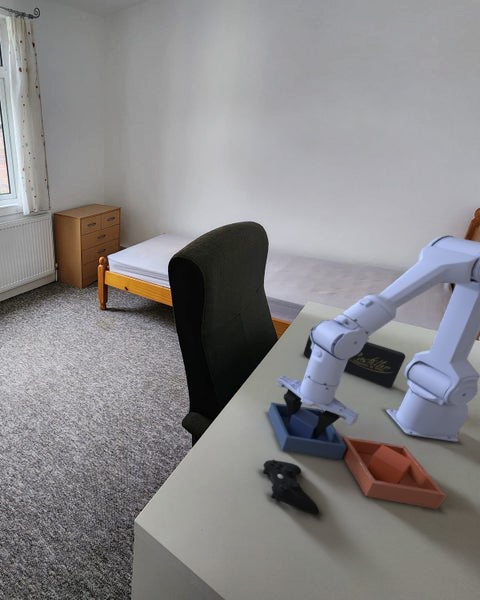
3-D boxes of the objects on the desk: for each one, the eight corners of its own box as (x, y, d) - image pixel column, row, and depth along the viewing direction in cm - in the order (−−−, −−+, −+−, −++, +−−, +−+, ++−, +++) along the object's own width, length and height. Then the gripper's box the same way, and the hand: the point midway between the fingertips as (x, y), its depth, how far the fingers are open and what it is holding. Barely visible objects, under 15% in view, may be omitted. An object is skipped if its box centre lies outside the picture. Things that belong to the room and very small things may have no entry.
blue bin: (319, 421, 78) (323, 409, 77) (341, 459, 68) (346, 447, 67) (267, 414, 80) (271, 402, 79) (282, 450, 71) (286, 437, 69)
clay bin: (398, 458, 69) (405, 445, 67) (437, 509, 59) (446, 495, 58) (338, 449, 71) (343, 436, 69) (365, 496, 61) (372, 482, 60)
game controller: (325, 513, 57) (293, 491, 56) (300, 526, 59) (269, 505, 59) (302, 466, 66) (275, 446, 65) (281, 478, 68) (254, 459, 67)
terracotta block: (403, 478, 64) (412, 460, 62) (394, 489, 62) (403, 472, 60) (374, 461, 68) (382, 444, 66) (365, 471, 65) (373, 454, 64)
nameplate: (302, 355, 103) (311, 327, 99) (304, 353, 105) (313, 325, 101) (390, 388, 89) (405, 356, 85) (392, 385, 90) (406, 354, 86)
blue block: (318, 435, 74) (324, 420, 72) (307, 444, 71) (313, 428, 69) (297, 423, 77) (302, 407, 75) (286, 431, 75) (291, 415, 73)
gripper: (275, 365, 72) (261, 415, 77) (355, 405, 61) (332, 460, 66) (293, 356, 75) (278, 404, 81) (371, 391, 64) (348, 445, 69)
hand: (303, 428), depth 74 cm, fingers closed on blue block, 4 cm apart
